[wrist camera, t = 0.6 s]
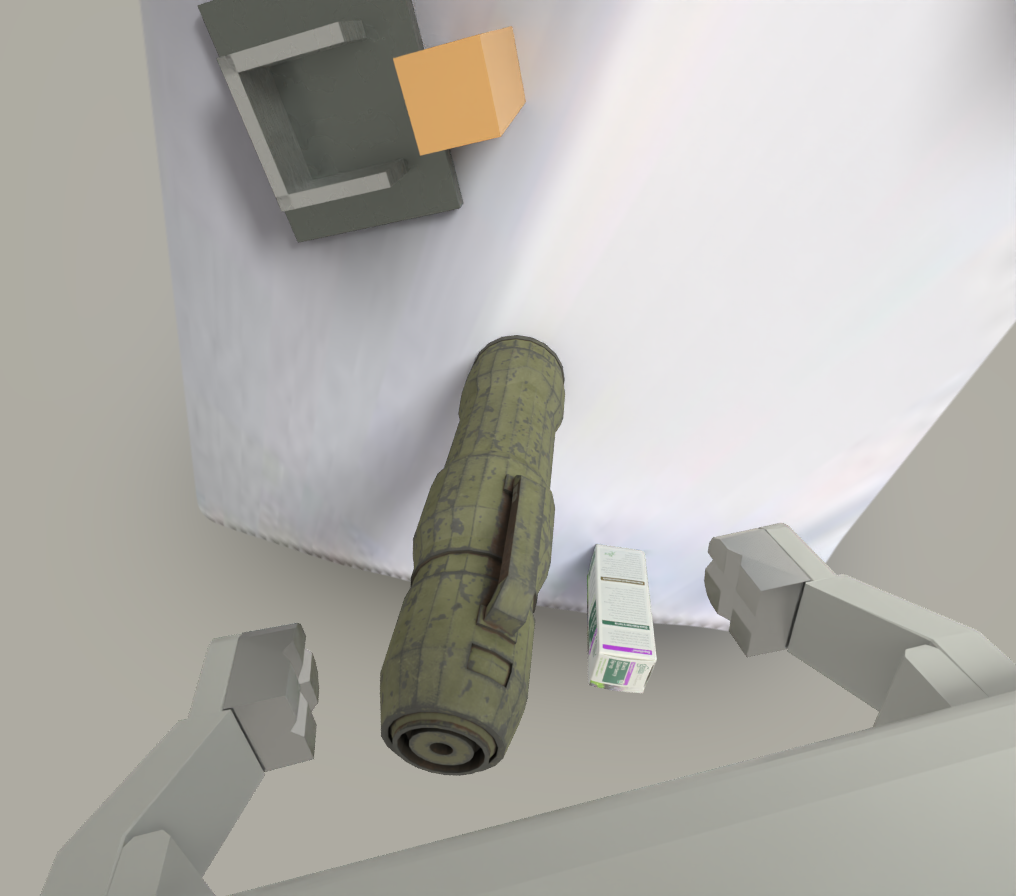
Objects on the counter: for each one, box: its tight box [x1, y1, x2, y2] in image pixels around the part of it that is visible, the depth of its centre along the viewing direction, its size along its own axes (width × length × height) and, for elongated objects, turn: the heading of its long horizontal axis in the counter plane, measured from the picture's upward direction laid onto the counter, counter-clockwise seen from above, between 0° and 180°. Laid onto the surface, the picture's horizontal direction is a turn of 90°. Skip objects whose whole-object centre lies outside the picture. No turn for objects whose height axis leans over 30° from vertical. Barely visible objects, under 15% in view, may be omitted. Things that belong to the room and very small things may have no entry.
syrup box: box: [587, 544, 657, 693], centre depth 63 cm, size 6×6×14 cm
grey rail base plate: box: [198, 0, 463, 242], centre depth 41 cm, size 14×16×6 cm
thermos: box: [380, 335, 565, 775], centre depth 42 cm, size 9×12×35 cm
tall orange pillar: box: [393, 26, 526, 156], centre depth 36 cm, size 4×4×14 cm
